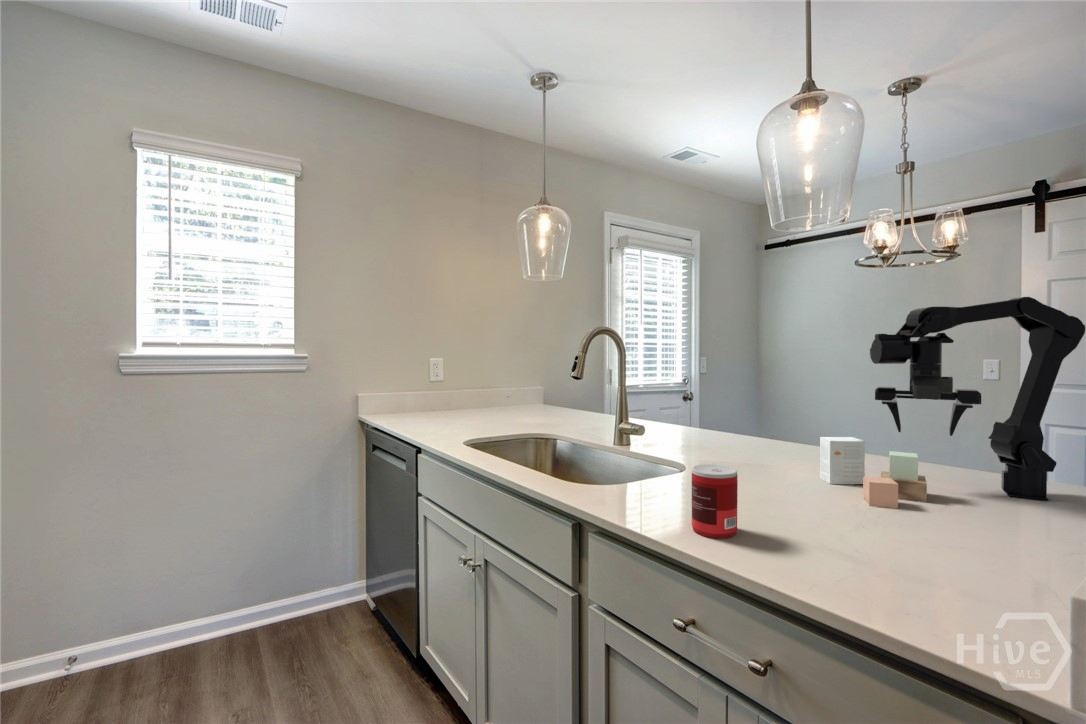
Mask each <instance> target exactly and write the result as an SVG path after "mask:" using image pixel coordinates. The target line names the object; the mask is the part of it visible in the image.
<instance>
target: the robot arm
mask: <svg viewBox="0 0 1086 724" xmlns="http://www.w3.org/2000/svg"><path fill="white" fill-rule="evenodd" d="M1010 317H1011V318H1013V319H1014V320H1015V321H1016V323H1017V324H1018V325H1019V327H1020V328H1022V329H1024V330H1025V331H1026V332H1028V334H1029V335H1028V345H1029V348H1030V352H1031V358H1030V360H1029V362H1028V365H1027V368H1026V371H1025V374H1024V377H1023V379H1022V382H1021V385H1020V389H1019V390H1018V391H1019V392H1018V393H1017V397H1016V399H1015V403H1014V404H1013V408H1012V410H1011V414H1010V415H1009V417H1008V418H1007V419H1006V420H1005V421H1004V422H1000V421H995V422H994V424H993V428H992V432H991V434H990V436H988V439H989V440H990V448H991V449H992V451H993V452H994V453H995V454H996V456H997V459H998V460H999V462H1000V463H1001V464H1004V465H1005V466H1004V470H1001V487H1000V488H1001V490H1003V492H1004V493H1005V494H1006V495H1007V496H1008V497H1015V498H1024V499H1032V500H1041V501H1050V497H1049V496H1047V495H1048V492H1047V490H1048V489H1047V488H1048V473H1050V472H1051V473H1052V472H1054V470H1055V468H1056V466H1057V461H1056V460H1054V459H1053V458H1052V457H1051V456H1050V455H1049V454H1048V453H1047V452H1045V450H1043V448H1044V439H1045V437H1044V434H1043V433H1044V432H1043V430H1042V427H1041V422H1042V419H1043V417H1044V414H1045V412H1046V411H1045V410H1046V408H1047V405H1048V402H1049V400H1050V396H1051V394H1052V391H1053V387H1054V386H1055V382H1056V380H1057V377H1058V374H1059V372H1060V369H1061V366H1062V364H1063V361H1064V359H1065V358H1067V357H1068V356H1069V355H1070V354H1071V353H1072V352H1073V351H1074V350H1076V349H1077V348H1078V346H1079V344H1080V343H1081V341H1082V339H1083V337H1084V336H1085V333H1086V325H1085V324H1084V323H1083V322H1082V320H1081V319H1080V318H1078V317H1077V316H1073V315H1068V314H1067V313H1066V312H1064V311H1062V310H1060V309H1057V308H1054V307H1052V306H1049V305H1046V304H1044V303H1042V302H1041V301H1039V300H1038V299H1036V298H1033V297H1031V296H1021V297H1015V298H1014V297H1013V298H1010V299H1008V300H1002V301H995V302H989V303H988V302H987V303H982V304H974V305H969V306H961V307H960V306H956V307H955V306H927V307H922V308H921V307H920V308H915V309H912V310H911V311H909V313H908V314H907V315H906V318H905V323H903V325H902V326H901V327H900V329H898V331H897V332H896V333H895V334H887V333H875V334H874V339H873V340H872V343H871V346H870V348H869V356H870V359H871V362H872V363H873V364H876V365H879V364H880V365H884V364H885V365H892V364H893V365H897V364H898V365H899V364H900V365H902V364H906V363H907V361H908V360H909V387H908V388H909V390H905V389H902V390H900V389H898V390H897V388H896V386H877V387H876V388H875V389H874V400H875V401H881V404H882V405H886V406H887V407H888V409H889V411H890V413H891V414H892V417H893V420H894V424H895V425H896V428H897V431H898V433H901V432H902V426H901V425H902V424H901V419H900V418H901V417H900V413H899V407H898V400H897V399H911V400H912V399H915V400H934V401H936V400H937V401H938V400H941V401H942V400H943V401H954V402H952V408H951V414H950V415H951V416H950V421H949V427H948V428H949V437H952V436H953V435H954V433H955V430H956V427H957V426H958V424H959V421H960V419H961V417H962V415H963V414H964V413H965V411H966V410H967V409H973V408H974V405H982V393H981V392H980V391H979V390H977V389H969V388H968V389H967V388H966V389H965V388H964V389H963V388H961V389H960V388H955V391H954V379H953V376H942V371H943V370H942V369H943V367H942V365H943V364H942V363H943V361H942V360H943V359H942V358H943V357H942V356H943V350H942V349H943V344H953V343H954V341H955V340H954V339H952V338H951V337H950V336H948V335H947V334H946V332H943V331H947V330H950V329H952V328H955V327H957V326H960V325H963V324H970V323H975V322H982V321H990V320H997V319H1003V318H1004V319H1005V318H1010ZM935 333H937V334H935ZM929 334H935V335H929ZM913 338H914V339H915V338H916V339H917V340H911V339H913Z"/></svg>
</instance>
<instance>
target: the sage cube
mask: <svg viewBox="0 0 1086 724" xmlns="http://www.w3.org/2000/svg"><path fill="white" fill-rule="evenodd" d="M888 455H889V457H888V458H889V460H888V464H889V466H888V472H889V478H895V479H904V480H913V481H918V475H919V456H918V453H916V452H902V451H891V450H889V453H888Z"/></svg>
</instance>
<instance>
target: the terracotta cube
mask: <svg viewBox="0 0 1086 724" xmlns="http://www.w3.org/2000/svg"><path fill="white" fill-rule="evenodd" d="M862 487H863V488H862V500H863V499H864V500H865V501H866V502H867V503H868V504H869V505H868V504H867V503H866V502H865V501H864V500H863V501H864V502H865V503H866V504H867V505H868V506H869V507H874V506H882V507H881V508H885V507H892V508H891V509H897V508H898V509H899V499H898V484H897V483H896V482H895V481H894V480H892V479H891V478H881V477H877V476H876V477H875V476H865V477H864V476H863V485H862Z"/></svg>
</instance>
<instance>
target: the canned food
mask: <svg viewBox="0 0 1086 724" xmlns="http://www.w3.org/2000/svg"><path fill="white" fill-rule="evenodd" d="M738 481H739V480H738V470H737V469H736V468H734V467H730V466H727V465H723V464H722V465H721V464H699V465H694V466H693V467H692V469H691V528H692V531H694V533H696V534H697V535H699V536H702V537H706V538H711V539H728V538H732V537H733V536H735V535H736V534H737V533H736V532H737V530H738V485H739V484H738Z"/></svg>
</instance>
